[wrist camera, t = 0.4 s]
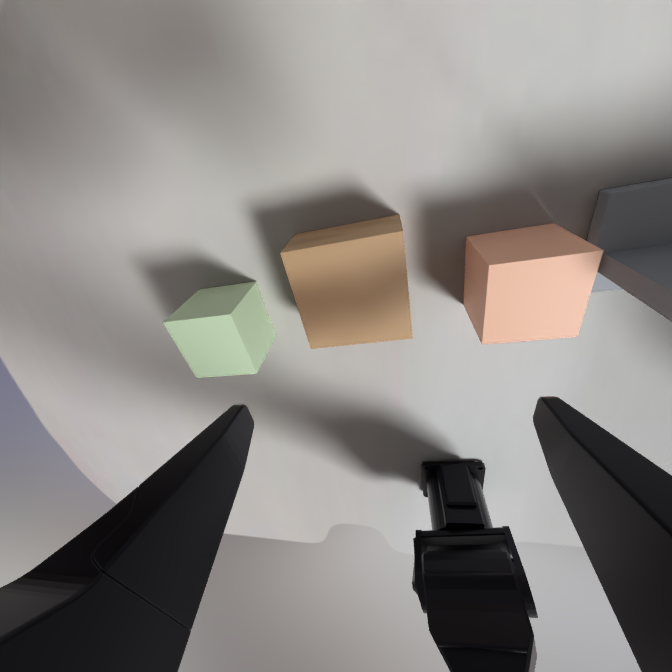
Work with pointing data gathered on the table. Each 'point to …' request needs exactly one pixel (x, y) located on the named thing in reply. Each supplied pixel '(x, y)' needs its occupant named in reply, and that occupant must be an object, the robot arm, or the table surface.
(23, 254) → the table surface
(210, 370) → the sage block
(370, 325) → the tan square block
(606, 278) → the card
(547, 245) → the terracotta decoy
